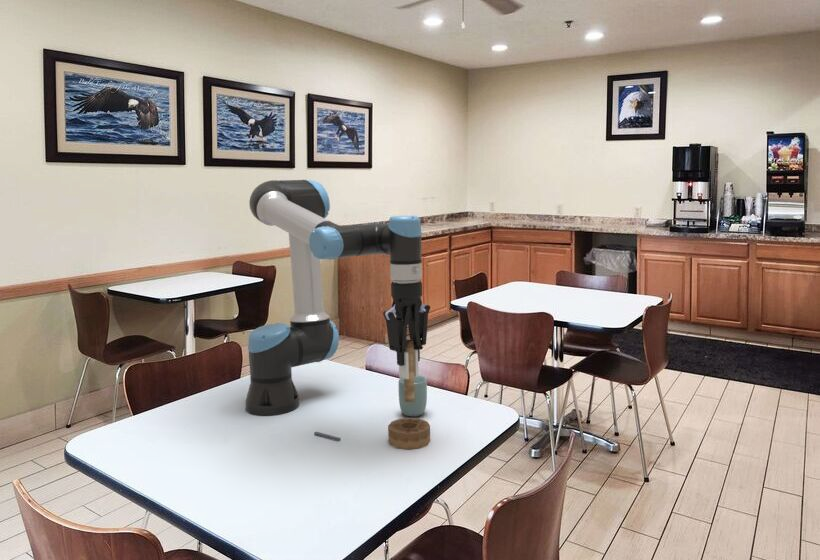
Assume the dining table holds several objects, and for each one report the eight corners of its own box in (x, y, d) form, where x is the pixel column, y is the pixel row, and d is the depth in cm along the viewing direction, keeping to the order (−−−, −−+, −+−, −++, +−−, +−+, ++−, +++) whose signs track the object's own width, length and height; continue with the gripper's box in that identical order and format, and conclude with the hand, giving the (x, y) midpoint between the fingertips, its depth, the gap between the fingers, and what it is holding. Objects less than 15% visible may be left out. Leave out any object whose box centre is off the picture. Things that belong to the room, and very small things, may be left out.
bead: (380, 440, 155) (380, 425, 155) (410, 429, 162) (410, 415, 161) (407, 452, 148) (407, 436, 147) (437, 441, 154) (437, 425, 154)
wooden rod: (402, 400, 153) (400, 340, 151) (410, 398, 155) (408, 338, 153) (409, 402, 151) (407, 342, 149) (417, 400, 153) (415, 340, 151)
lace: (314, 434, 160) (314, 432, 160) (316, 433, 160) (316, 431, 160) (338, 441, 155) (338, 439, 155) (340, 440, 156) (340, 437, 156)
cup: (424, 420, 168) (424, 384, 167) (396, 418, 170) (395, 383, 168) (429, 409, 176) (428, 375, 174) (402, 408, 177) (401, 374, 176)
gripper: (391, 286, 141) (394, 386, 144) (440, 278, 151) (442, 372, 154) (371, 283, 147) (374, 380, 150) (419, 276, 157) (421, 367, 160)
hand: (408, 376), depth 152 cm, fingers closed on wooden rod, 2 cm apart
